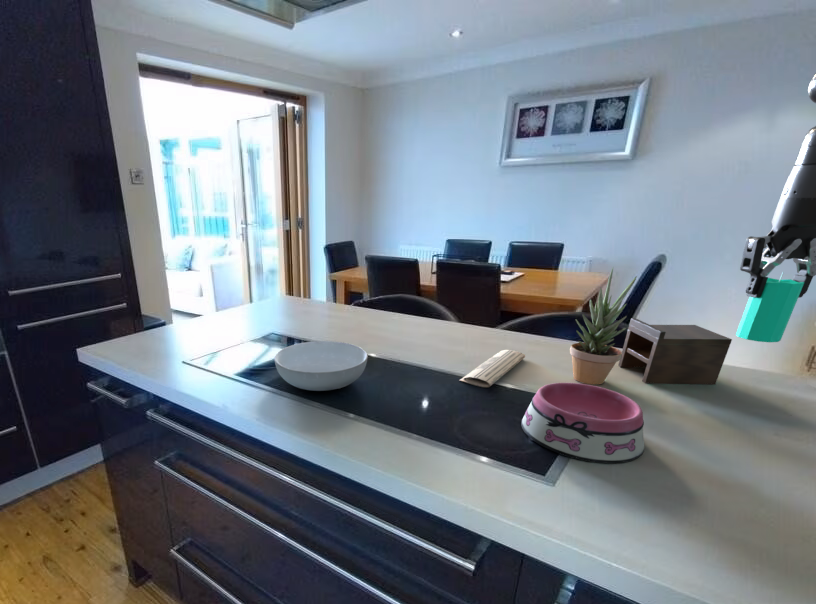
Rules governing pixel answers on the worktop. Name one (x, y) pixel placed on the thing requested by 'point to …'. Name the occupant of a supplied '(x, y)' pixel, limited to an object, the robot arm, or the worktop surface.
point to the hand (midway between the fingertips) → (773, 296)
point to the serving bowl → (321, 364)
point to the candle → (770, 311)
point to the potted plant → (598, 340)
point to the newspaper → (493, 368)
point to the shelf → (674, 353)
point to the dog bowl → (585, 423)
